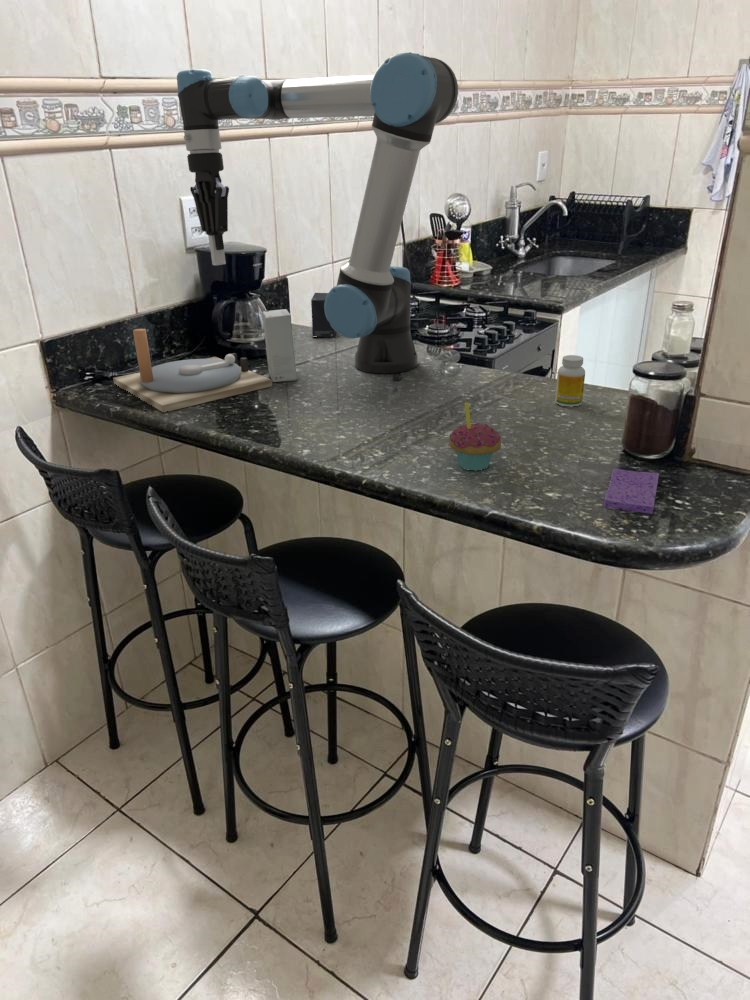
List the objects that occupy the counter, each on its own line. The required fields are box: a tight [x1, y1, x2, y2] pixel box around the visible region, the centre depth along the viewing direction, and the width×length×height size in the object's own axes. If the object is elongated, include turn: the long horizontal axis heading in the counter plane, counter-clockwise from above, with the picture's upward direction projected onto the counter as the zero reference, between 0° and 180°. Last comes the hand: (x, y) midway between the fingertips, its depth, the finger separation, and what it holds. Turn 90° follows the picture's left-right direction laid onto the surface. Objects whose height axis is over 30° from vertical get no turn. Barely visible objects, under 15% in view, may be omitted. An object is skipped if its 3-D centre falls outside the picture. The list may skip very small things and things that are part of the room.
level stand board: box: [112, 352, 273, 413], centre depth 166 cm, size 26×26×4 cm
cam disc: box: [132, 328, 241, 393], centre depth 163 cm, size 22×22×12 cm
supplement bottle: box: [554, 354, 586, 408], centre depth 149 cm, size 5×5×10 cm
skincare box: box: [262, 308, 298, 383], centre depth 168 cm, size 8×6×15 cm
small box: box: [310, 292, 337, 338], centre depth 206 cm, size 11×6×10 cm, turn 179°
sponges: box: [603, 468, 660, 515], centre depth 113 cm, size 7×13×2 cm, turn 158°
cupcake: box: [448, 398, 502, 471], centre depth 121 cm, size 9×8×12 cm
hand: (219, 264), depth 171 cm, fingers closed
